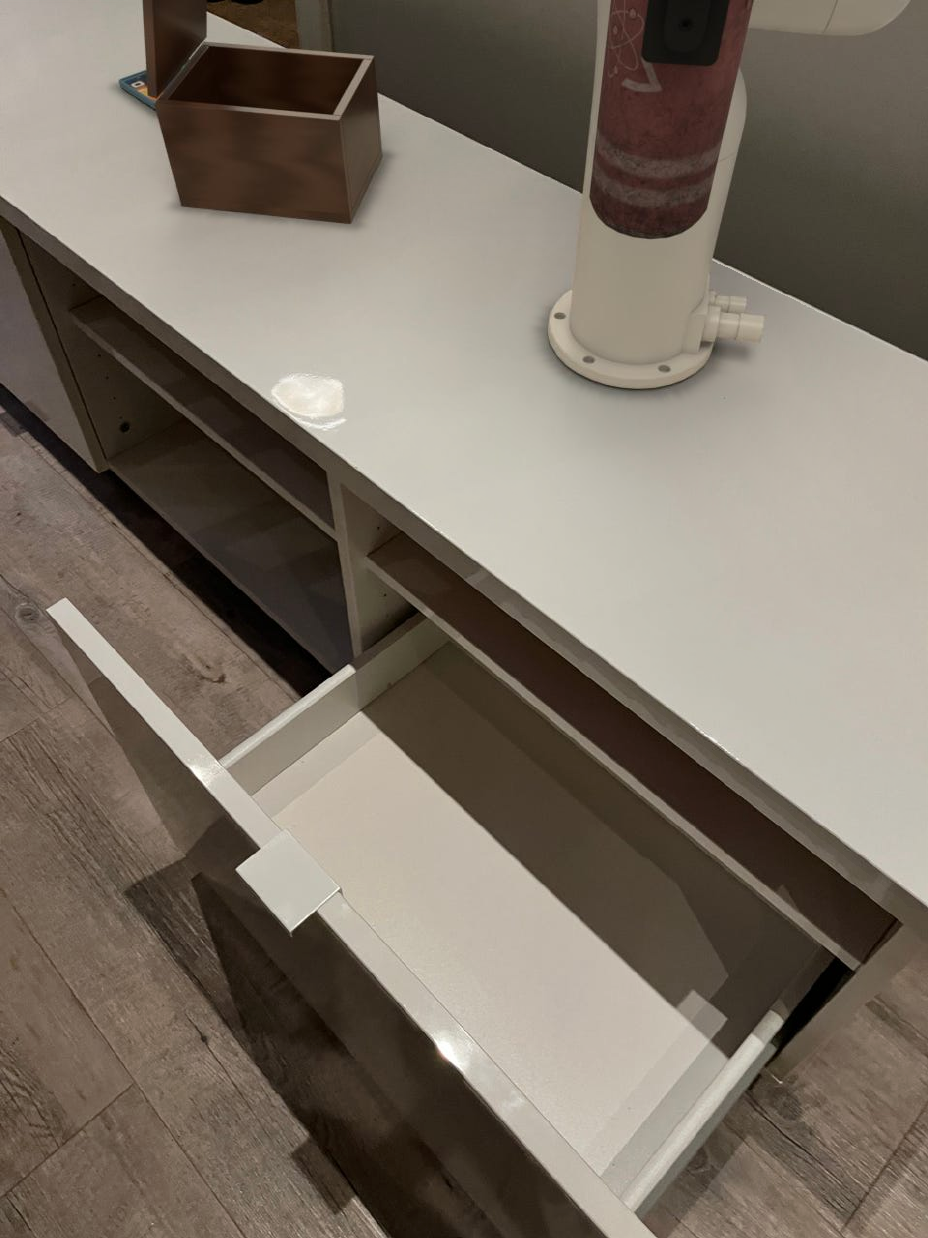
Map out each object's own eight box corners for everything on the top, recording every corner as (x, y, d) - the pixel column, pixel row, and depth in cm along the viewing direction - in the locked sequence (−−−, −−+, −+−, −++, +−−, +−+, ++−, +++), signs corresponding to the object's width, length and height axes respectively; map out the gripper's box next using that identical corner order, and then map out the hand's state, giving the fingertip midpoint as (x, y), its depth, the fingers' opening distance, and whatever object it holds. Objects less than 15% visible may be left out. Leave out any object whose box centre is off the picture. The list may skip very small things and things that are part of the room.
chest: (382, 156, 87) (374, 55, 80) (350, 223, 80) (339, 120, 73) (225, 140, 89) (203, 40, 82) (181, 205, 82) (153, 102, 75)
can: (682, 257, 46) (753, -76, 34) (568, 220, 48) (599, -108, 36) (727, 197, 49) (806, -129, 37) (618, 164, 51) (661, -156, 39)
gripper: (982, -661, 21) (772, 131, 36) (900, -682, 31) (761, -51, 45) (651, -658, 22) (579, 117, 37) (672, -679, 31) (608, -59, 46)
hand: (680, 19), depth 41 cm, fingers closed on can, 6 cm apart
